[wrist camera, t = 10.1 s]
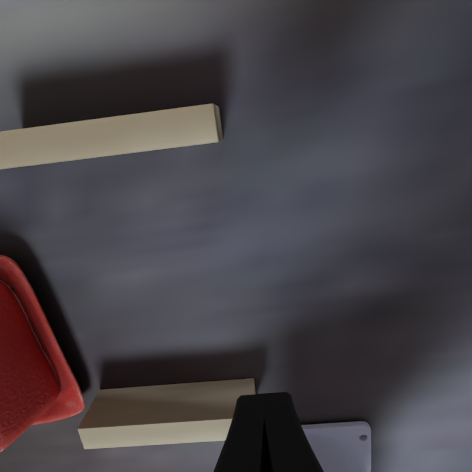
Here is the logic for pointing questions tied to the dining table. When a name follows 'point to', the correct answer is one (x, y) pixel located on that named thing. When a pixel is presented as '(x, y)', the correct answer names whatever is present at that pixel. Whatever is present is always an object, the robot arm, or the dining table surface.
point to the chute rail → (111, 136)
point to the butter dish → (30, 361)
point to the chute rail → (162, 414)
